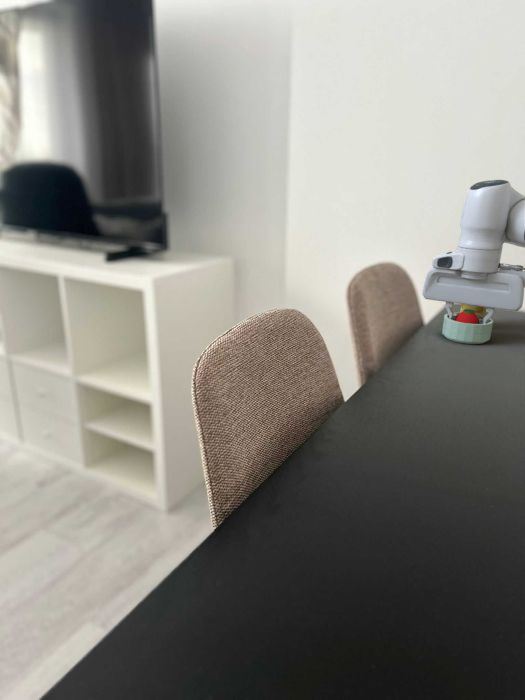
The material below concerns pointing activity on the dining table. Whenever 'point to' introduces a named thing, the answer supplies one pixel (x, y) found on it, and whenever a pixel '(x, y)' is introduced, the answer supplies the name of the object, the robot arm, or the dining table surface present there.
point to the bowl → (467, 330)
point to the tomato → (468, 317)
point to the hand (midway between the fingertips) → (466, 324)
